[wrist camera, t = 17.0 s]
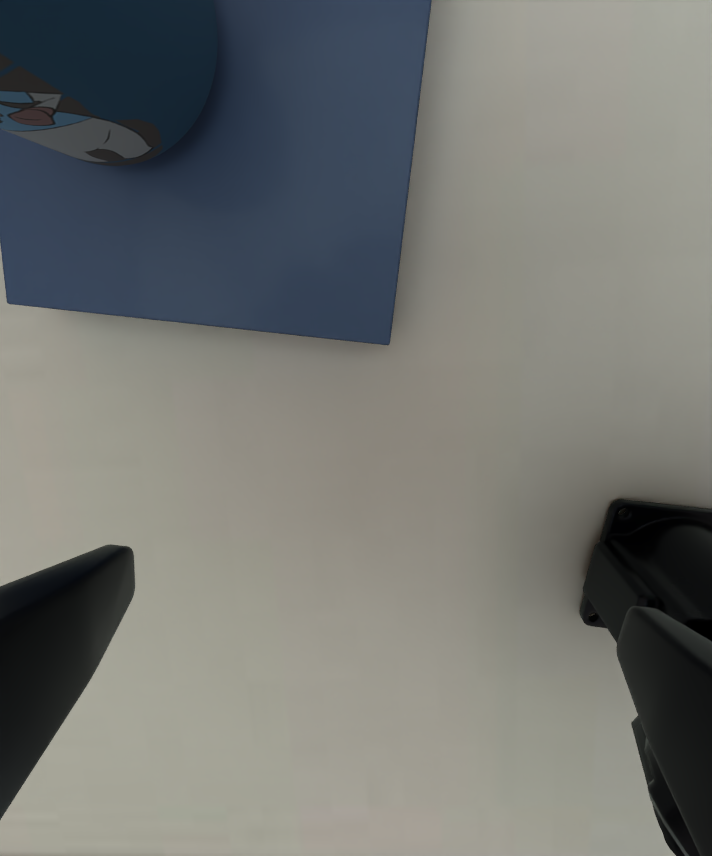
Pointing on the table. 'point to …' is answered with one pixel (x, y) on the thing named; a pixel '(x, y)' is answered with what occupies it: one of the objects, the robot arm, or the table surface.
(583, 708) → the table surface
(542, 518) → the table surface
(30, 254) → the blue square block
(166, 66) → the soda can
